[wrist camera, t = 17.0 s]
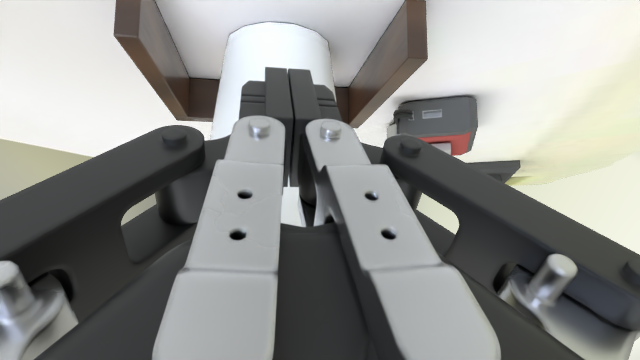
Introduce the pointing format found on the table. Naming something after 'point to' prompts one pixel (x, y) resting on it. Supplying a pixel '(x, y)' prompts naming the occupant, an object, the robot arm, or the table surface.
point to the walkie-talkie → (439, 123)
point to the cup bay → (201, 94)
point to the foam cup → (249, 64)
